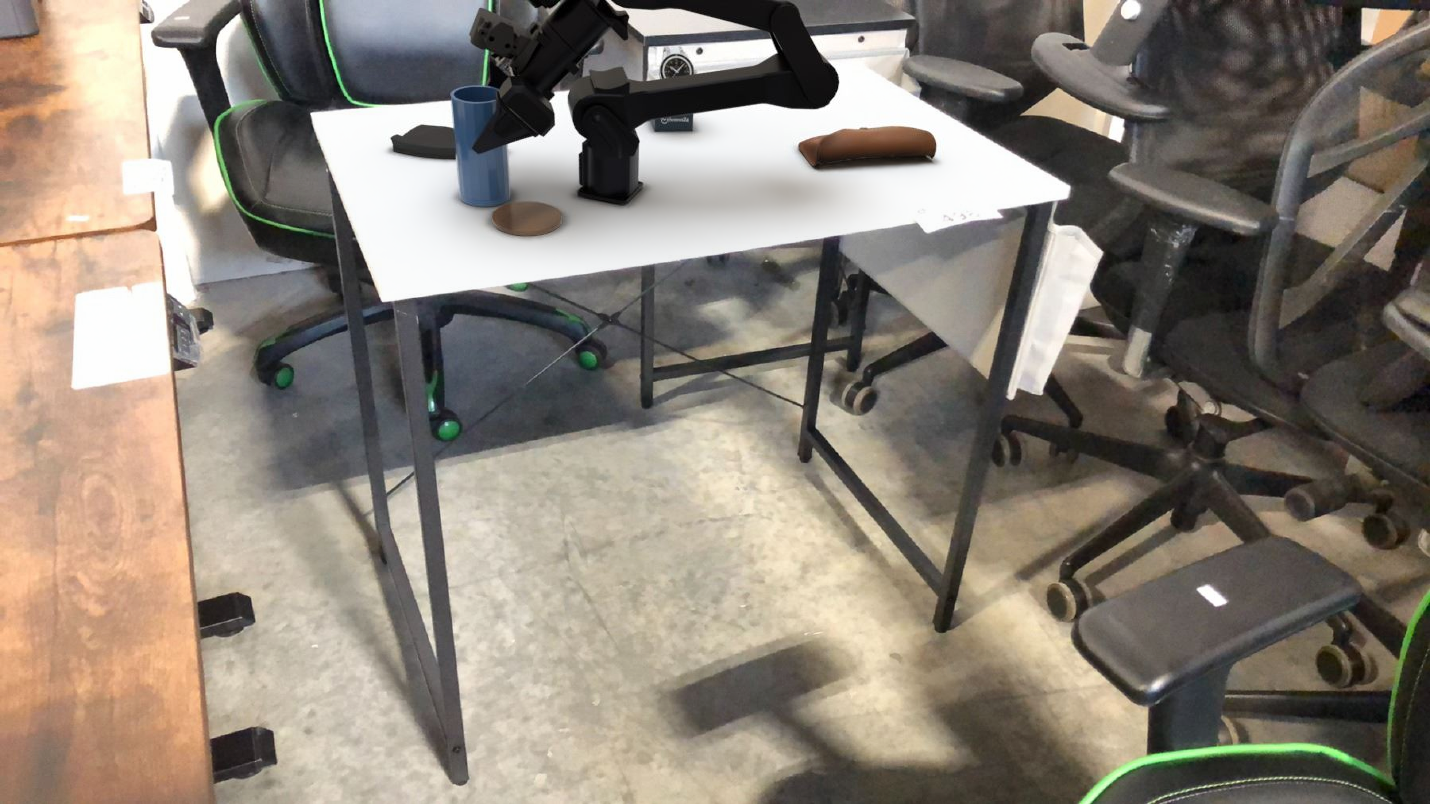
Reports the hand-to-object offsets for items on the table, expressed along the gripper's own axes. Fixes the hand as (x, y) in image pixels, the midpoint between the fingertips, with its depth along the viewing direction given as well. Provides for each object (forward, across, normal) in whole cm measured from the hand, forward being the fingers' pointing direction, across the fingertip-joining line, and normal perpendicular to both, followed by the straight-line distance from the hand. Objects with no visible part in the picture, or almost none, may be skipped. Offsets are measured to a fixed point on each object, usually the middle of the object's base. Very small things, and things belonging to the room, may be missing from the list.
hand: (472, 136), depth 115 cm
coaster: (+2, +7, +9) cm, 12 cm away
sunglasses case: (-32, -8, +43) cm, 55 cm away
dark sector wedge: (+8, -16, +3) cm, 18 cm away
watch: (-15, -22, +26) cm, 37 cm away
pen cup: (+5, 0, +6) cm, 8 cm away
